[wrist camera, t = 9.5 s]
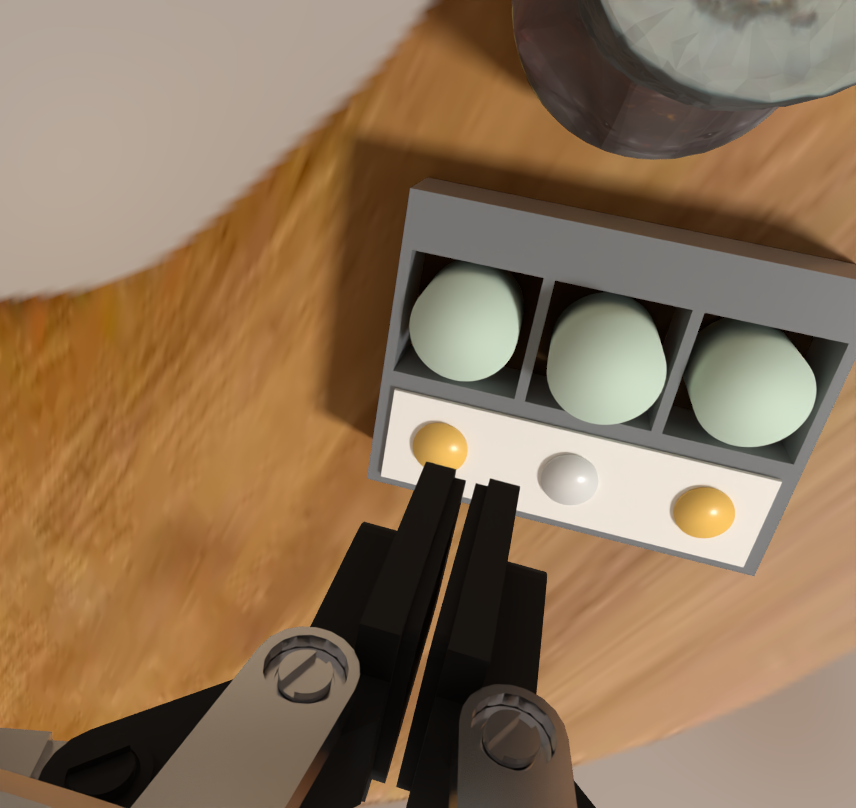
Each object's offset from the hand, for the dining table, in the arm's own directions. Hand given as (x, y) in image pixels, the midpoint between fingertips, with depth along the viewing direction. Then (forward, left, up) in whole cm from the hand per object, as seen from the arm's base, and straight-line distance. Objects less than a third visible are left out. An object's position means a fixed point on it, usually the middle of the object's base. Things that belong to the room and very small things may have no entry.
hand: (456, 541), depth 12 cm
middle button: (+1, +3, -16) cm, 17 cm away
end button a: (+1, -2, -17) cm, 18 cm away
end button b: (+1, +8, -17) cm, 19 cm away
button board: (+3, +3, -18) cm, 18 cm away
